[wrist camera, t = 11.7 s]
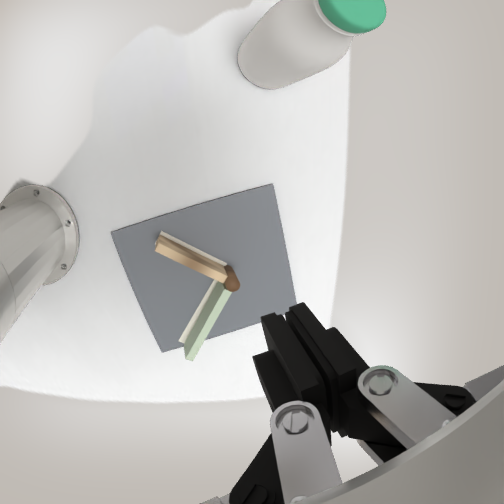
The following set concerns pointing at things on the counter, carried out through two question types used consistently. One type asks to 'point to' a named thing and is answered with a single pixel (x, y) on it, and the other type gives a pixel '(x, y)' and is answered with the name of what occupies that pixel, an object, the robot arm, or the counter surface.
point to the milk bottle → (304, 38)
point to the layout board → (216, 249)
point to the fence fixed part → (198, 262)
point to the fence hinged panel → (206, 320)
